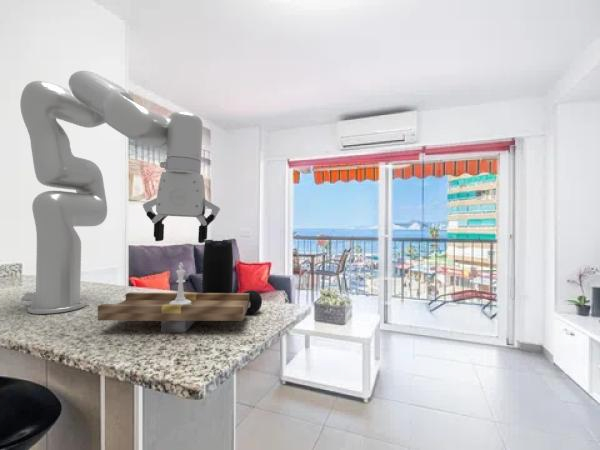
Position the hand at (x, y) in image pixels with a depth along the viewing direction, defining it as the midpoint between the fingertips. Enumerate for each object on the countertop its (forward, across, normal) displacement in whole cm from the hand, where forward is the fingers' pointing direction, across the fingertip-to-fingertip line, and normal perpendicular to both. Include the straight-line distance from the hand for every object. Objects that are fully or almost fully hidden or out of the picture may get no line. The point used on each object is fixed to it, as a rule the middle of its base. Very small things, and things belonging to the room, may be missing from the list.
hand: (180, 241), depth 72 cm
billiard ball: (+19, +16, +10) cm, 27 cm away
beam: (+19, +1, 0) cm, 19 cm away
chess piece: (+15, +1, 0) cm, 15 cm away
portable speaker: (+20, +6, +16) cm, 26 cm away
